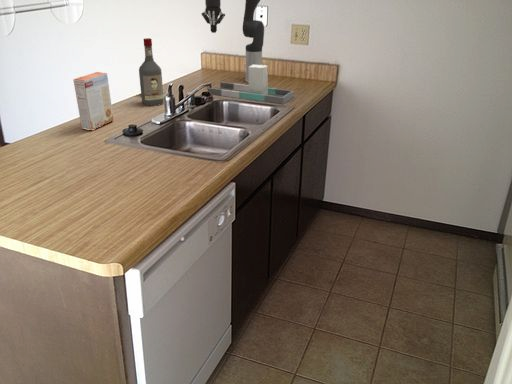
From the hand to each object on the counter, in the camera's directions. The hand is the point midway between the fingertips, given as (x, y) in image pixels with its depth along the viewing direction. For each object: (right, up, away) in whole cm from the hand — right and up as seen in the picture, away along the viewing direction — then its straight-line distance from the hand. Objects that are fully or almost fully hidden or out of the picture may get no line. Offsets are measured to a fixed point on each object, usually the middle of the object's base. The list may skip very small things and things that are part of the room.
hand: (213, 32), depth 243 cm
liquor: (-28, -39, -14) cm, 50 cm away
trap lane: (+19, -32, +1) cm, 37 cm away
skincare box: (+23, -33, 0) cm, 40 cm away
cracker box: (-44, -54, -45) cm, 84 cm away
